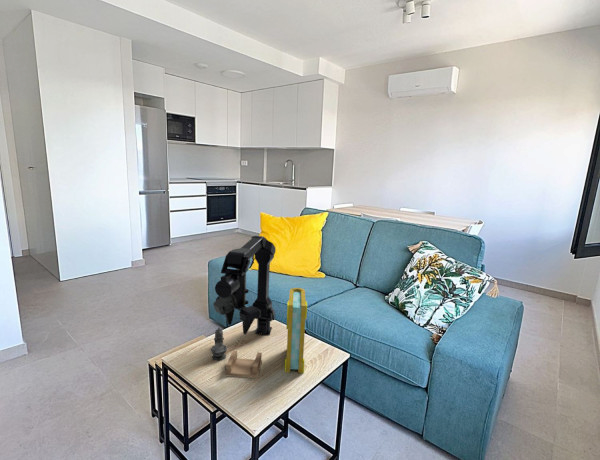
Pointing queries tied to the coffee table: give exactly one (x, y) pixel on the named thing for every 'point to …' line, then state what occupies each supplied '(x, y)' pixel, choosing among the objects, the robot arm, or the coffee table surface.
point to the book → (296, 329)
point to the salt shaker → (218, 346)
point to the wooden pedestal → (243, 366)
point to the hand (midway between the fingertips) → (237, 329)
